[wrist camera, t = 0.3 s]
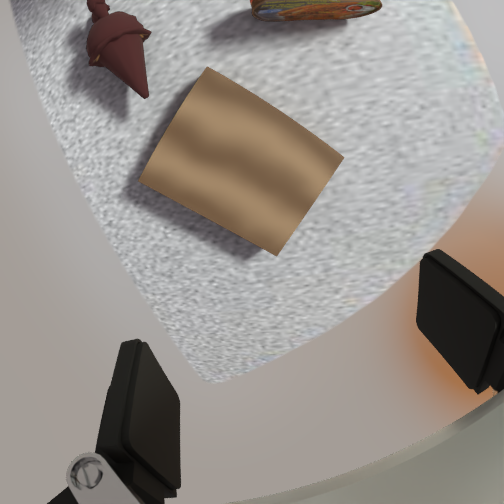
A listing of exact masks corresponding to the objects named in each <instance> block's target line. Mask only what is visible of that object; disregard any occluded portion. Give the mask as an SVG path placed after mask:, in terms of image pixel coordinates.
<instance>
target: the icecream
mask: <svg viewBox="0 0 504 504" xmlns="http://www.w3.org/2000/svg"><path fill="white" fill-rule="evenodd" d="M87 6H88V9H89V11H90V12H92V21H93V23H94V25H92V27H91V29H90V32H89V35H88V39H87V46H86V49H87V52H88V56H89V57H90V60H89V66H98V67H106V68H107V69H109V70H110V71H111V72H112V73H114V74H115V75H116V76H117V77H119V78H120V79H121V80H122V81H123V82H125V83H126V84H127V85H128V86H130V87H131V88H132V89H133V90H134V91H135V92H137V93H138V94H139V95H140V96H141V97H143V98H144V99H146V98H148V97H149V91H148V84H147V76H146V67H145V58H144V49H143V42H144V41H145V40H146V39H148V38H149V36H150V34H151V31H149V30H146V29H144V28H143V25H142V24H141V23H139V22H138V21H137V19H136V17H135V16H133V15H129V14H127V13H124V12H114V13H112V14H108V11H109V10H110V8H109V6H108V5H107V4H106V3H105V0H87Z"/></svg>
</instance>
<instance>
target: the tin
mask: <svg viewBox="0 0 504 504" xmlns="http://www.w3.org/2000/svg"><path fill="white" fill-rule="evenodd" d="M250 3H251V7H252V15H253V16H254V17H255V18H256V19H259V20H263V21H292V20H321V19H350V18H357V17H362V16H366V15H369V14H372V13H374V12H377V11H378V10H380V9H381V7H382V3H381V1H380V0H250Z"/></svg>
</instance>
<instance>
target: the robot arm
mask: <svg viewBox="0 0 504 504" xmlns="http://www.w3.org/2000/svg"><path fill="white" fill-rule="evenodd" d="M416 323H417V326H418V328H419V330H420V331H421V332H422V333H423V334H424V335H425V337H426V338H427V339H428V340H429V341H430V342H431V343H432V345H433V346H434V347H435V348H436V349H437V350H438V352H439V353H440V354H441V355H442V356H443V358H444V359H445V360H446V361H447V362H448V364H449V365H450V366H451V367H452V368H453V369H454V371H455V372H456V373H457V374H458V376H459V377H460V378H461V379H462V380H463V382H464V383H465V384H466V386H467V387H468V388H469V389H474V390H475V392H476V393H477V394H479V393H481V392H483V391H484V390H486V389H487V388H488V387H489V386H491V387H492V388H493V397H492V398H491V399H489V400H488V401H486V402H485V403H483V404H482V405H480V406H479V407H478V408H476V409H474V410H473V411H471V412H469V413H468V414H466V415H465V416H463V417H462V418H460V419H458V420H457V421H455V422H453V423H452V424H450V425H448V426H446V427H445V428H443V429H441V430H439V431H437V432H436V433H434V434H432V435H430V436H428V437H426V438H424V439H422V440H420V441H419V442H417V443H415V444H413V445H410V446H409V447H407V448H404V449H402V450H400V451H398V452H396V453H394V454H391V455H389V456H387V457H385V458H382V459H380V460H378V461H375V462H373V463H370V464H368V465H365V466H363V467H360V468H358V469H355V470H352V471H350V472H347V473H344V474H342V475H339V476H336V477H333V478H330V479H327V480H323V481H321V482H317V483H314V484H310V485H307V486H304V487H300V488H296V489H293V490H289V491H285V492H281V493H277V494H273V495H269V496H264V497H259V498H254V499H249V500H243V501H238V502H232V503H226V504H504V297H503V296H502V295H501V294H499V292H497V291H496V290H495V289H493V288H492V287H491V286H490V285H488V284H487V283H486V282H484V281H483V280H482V279H480V278H479V277H478V276H476V275H475V274H474V273H472V272H471V271H470V270H468V269H467V268H466V267H464V266H463V265H461V264H460V263H459V262H457V261H456V260H454V259H453V258H451V257H450V256H449V255H447V254H446V253H444V252H443V251H442V250H440V249H436V250H433V251H431V252H428V253H425V254H424V256H423V259H422V260H421V261H420V273H419V292H418V306H417V316H416ZM66 480H67V483H68V487H67V488H66V489H64V490H63V491H62V492H61V493H60V494H58V495H57V496H56V497H55V498H53V499H52V500H51V501H50V502H49V503H47V504H164V498H174V497H177V492H176V489H179V488H180V487H181V469H180V400H179V397H178V395H177V393H176V391H175V390H174V388H173V386H172V385H171V383H170V381H169V380H168V378H167V376H166V375H165V373H164V371H163V370H162V368H161V366H160V365H159V363H158V361H157V360H156V358H155V356H154V355H153V352H152V351H151V349H150V347H149V345H148V344H147V343H146V342H142V341H141V340H139V339H135V340H130V341H125V342H122V344H121V346H120V350H119V354H118V357H117V362H116V366H115V369H114V373H113V377H112V381H111V385H110V386H109V389H108V392H107V396H106V401H105V405H104V410H103V414H102V419H101V424H100V429H99V434H98V439H97V444H96V450H95V453H89V452H88V453H84V454H81V455H79V456H78V457H76V458H75V459H74V460H73V461H72V462H71V464H70V465H69V467H68V470H67V473H66Z"/></svg>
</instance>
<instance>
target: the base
mask: <svg viewBox="0 0 504 504" xmlns="http://www.w3.org/2000/svg"><path fill="white" fill-rule="evenodd" d="M343 159H344V157H343V156H342V155H341V154H339V153H338V152H337V151H335V150H334V149H333V148H331V147H330V146H329V145H328V144H326V143H325V142H323V141H322V140H321V139H319V138H318V137H317V136H315V135H314V134H313V133H311V132H310V131H308V130H307V129H306V128H304V127H303V126H301V125H300V124H298V123H297V122H296V121H294V120H293V119H291V118H290V117H288V116H287V115H285V114H284V113H282V112H281V111H279V110H278V109H276V108H275V107H273V106H272V105H270V104H269V103H267V102H266V101H264V100H263V99H261V98H259V97H258V96H256V95H255V94H253V93H252V92H250V91H248V90H247V89H245V88H243V87H242V86H240V85H238V84H237V83H235V82H233V81H232V80H230V79H228V78H227V77H225V76H223V75H221V74H220V73H218V72H216V71H214V70H213V69H211V68H209V67H206V69H205V70H204V71H203V73H202V74H201V76H200V77H199V79H198V80H197V82H196V83H195V85H194V86H193V88H192V89H191V91H190V92H189V94H188V95H187V97H186V99H185V100H184V102H183V103H182V105H181V106H180V108H179V110H178V111H177V113H176V115H175V116H174V118H173V119H172V121H171V123H170V124H169V126H168V128H167V129H166V131H165V133H164V135H163V136H162V138H161V140H160V142H159V143H158V145H157V147H156V149H155V150H154V152H153V154H152V156H151V158H150V159H149V161H148V163H147V165H146V167H145V169H144V171H143V172H142V174H141V176H140V178H139V180H138V181H139V182H140V183H142V184H144V185H146V186H148V187H150V188H152V189H154V190H155V191H157V192H159V193H161V194H163V195H165V196H167V197H168V198H170V199H172V200H174V201H176V202H178V203H180V204H181V205H183V206H185V207H187V208H189V209H191V210H192V211H194V212H196V213H198V214H200V215H202V216H204V217H205V218H207V219H209V220H211V221H213V222H215V223H216V224H218V225H220V226H222V227H224V228H226V229H228V230H229V231H231V232H233V233H235V234H237V235H239V236H240V237H242V238H244V239H246V240H248V241H250V242H251V243H253V244H255V245H257V246H259V247H261V248H262V249H264V250H266V251H268V252H270V253H272V254H273V255H275V256H277V255H278V254H279V252H280V251H281V250H282V248H283V247H284V245H285V244H286V242H287V241H288V239H289V238H290V237H291V235H292V234H293V232H294V231H295V229H296V228H297V226H298V225H299V224H300V222H301V221H302V219H303V218H304V216H305V215H306V213H307V212H308V210H309V209H310V208H311V206H312V205H313V203H314V202H315V200H316V199H317V197H318V196H319V194H320V193H321V191H322V190H323V188H324V187H325V186H326V184H327V183H328V181H329V180H330V178H331V177H332V175H333V174H334V172H335V171H336V169H337V168H338V166H339V165H340V163H341V162H342V160H343Z"/></svg>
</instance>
